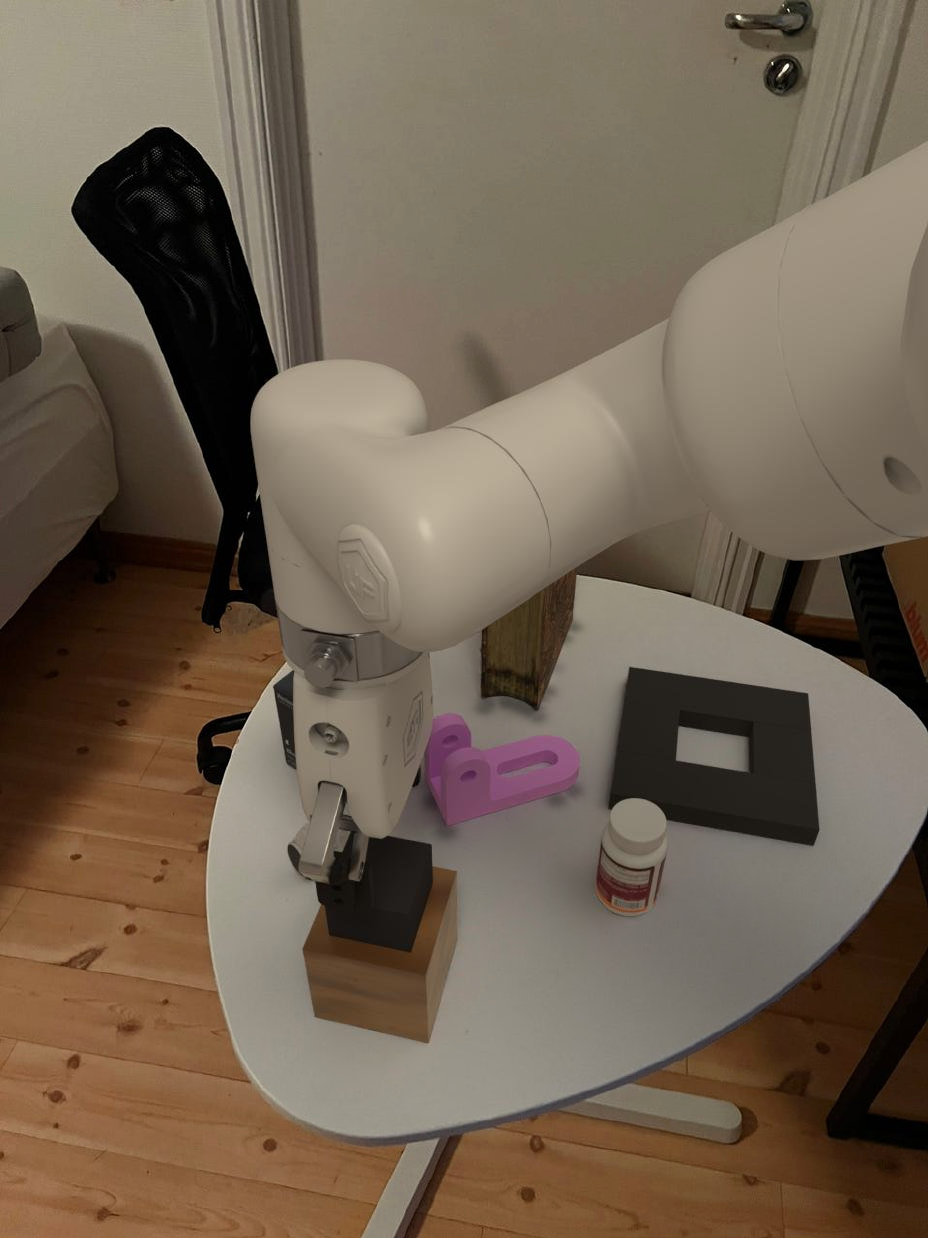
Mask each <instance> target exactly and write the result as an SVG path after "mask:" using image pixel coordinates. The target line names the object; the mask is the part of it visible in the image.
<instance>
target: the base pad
mask: <svg viewBox="0 0 928 1238" xmlns="http://www.w3.org/2000/svg"><path fill="white" fill-rule="evenodd" d="M809 696H810V695H809V692H801V691H795V690H788V689H781V688H775V687H768V686H761V685H755V684H749V683H742V682H736V681H730V680H729V681H728V680H721V679H716V678H708V677H702V676H695V675H688V674H683V673H674V672H669V671H668V672H667V671H662V670H656V669H655V670H654V669H649V668H641V667H634V666H629V667H628V674H627V679H626V688H625V694H624V699H623V700H624V701H623V708H622V713H621V720H620V727H619V734H618V741H617V748H616V754H615V760H614V768H613V775H612V781H611V788H610V795H609V801H608V807H607V808H608V810H610V811H611V810H612V809H613V807H614V806H615V805H616V804H617V803H619V802H620V801H622V800H625V799H630V798H639V799H644V800H647V801H650V802H652V803H654V804H655V805H657V806H658V807H659V808H660V809H661V810H662V812H663V813H664V815H665V817H666V821H672V822H677V823H683V824H689V825H695V826H698V827H699V826H701V827H705V828H710V829H717V830H721V831H722V830H723V831H728V832H734V833H740V834H746V835H751V836H756V837H762V838H768V839H773V840H780V841H785V842H790V843H796V844H802V845H805V846H806V845H807V846H812V847H813V846H815V844H816V840H817V838H818V835H819V832H820V819H819V810H818V809H819V808H818V807H819V806H818V795H817V783H816V774H815V773H816V772H815V770H816V769H815V761H814V759H815V758H814V747H813V735H812V723H811V711H810V709H811V708H810V698H809ZM680 727H684V728H691V729H696V730H702V731H709V732H714V733H722V734H727V735H734V736H740V737H746V738H748V771H743V770H736V769H730V768H724V767H718V766H712V765H706V764H702V763H701V764H700V763H695V762H687V761H682V760H677V752H678V741H679V740H678V738H679V728H680Z"/></svg>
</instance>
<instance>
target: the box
mask: <svg viewBox="0 0 928 1238" xmlns="http://www.w3.org/2000/svg"><path fill="white" fill-rule="evenodd" d="M293 678H294V670H293V669H291V671H290V672H288V673H287V674H286V675H284V676H283V677H282V678H281V679H279V680H278V681H277V682H276V683H274V684H273V686H272V688H273V693H274V700H275V701H274V702H275V705H276V711H277V718H278V723H279V730H280V734H281V735H280V736H281V741H282V747H283V751H284V759H285V763H286V764H287V765H289V766H291V767H292V768H294V769H295V770H297V767H296V755H295V740H294V714H293Z"/></svg>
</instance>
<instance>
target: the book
mask: <svg viewBox="0 0 928 1238" xmlns="http://www.w3.org/2000/svg"><path fill="white" fill-rule="evenodd" d="M577 576H578V566H577V567H576V568H574V569H573V570H571V571H570V572H568V573H567V574H565V575H564V576H562V577H561V578H559V579H558V580H556V581H555V582H553V583H552V584H550V585H548V586H547V587H545V588H544V589H542V590H541V591H539V592H538V593H536V594H535V595H533V596H532V597H531V598H530V599H528V600H527V601H525V602H524V603H522V604H521V605H519V606H518V607H516V608H515V609H513V610H511V611H510V612H508V613H507V614H505V615H504V616H502V617H501V618H499V619H498V620H496V621H494V622H493V623H491V624H490V625H488V626H487V627H485V628H484V629H482V630H481V640H480V643H481V645H480V648H481V649H480V697H482V698H488V697H491V696H510V697H514V698H517V699H520V700H522V701H523V702H526V703H527V704H529V705H531V706H533V709H537V710H539V709H540V706H541V704H542V702H543V699H544V696H545V694H546V692H547V689H548V686H549V683H550V682H551V678H552V676H553V673H554V670H555V669H556V665H557V663H558V659H559V657H560V654H561V652H562V649H563V648H564V647H563V646H564V644H565V641H566V638H567V636H568V633H569V631H570V628H571V625H572V622H573V620H574V609H575V597H576V587H577Z"/></svg>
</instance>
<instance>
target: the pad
mask: <svg viewBox="0 0 928 1238" xmlns="http://www.w3.org/2000/svg"><path fill="white" fill-rule="evenodd" d="M354 835H355V832H350V835H349V837H348V839H347V842H346V844H345V846H344V849H343V851H342V852H344V853H349V854H351V853H352V847H353V841H354ZM365 862H368V863H369V864H371V866H372V878H373V890H374V902H375V906H374V908H373V911H372V913H371V914H370V915H365V914H361V913H356V912H351V913H342V912H337V911H334V910H332V909H330V908H329V907H328V906H325V911H326V918H327V925H328V931H329V935H331V936H335V937H340V938H345V939H349V940H354V941H359V942H363V943H368V944H373V945H377V946H382V947H387V948H391V949H396V950H401V951H405V952H410V953H411V951H412V948H413V945H414V942H415V938H416V935H417V932H418V929H419V926H420V923H421V919H422V916H423V913H424V910H425V907H426V904H427V900H428V897H429V894H430V891H431V888H432V885H433V866H434V864H433V844H432V843H428V842H422V841H419V840H412V839H407V838H401V837H396V836H392V835H388V836H386V837H384V838H382V839H379V838H373V837H369V841H368V847H367V853H366V859H365Z"/></svg>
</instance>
